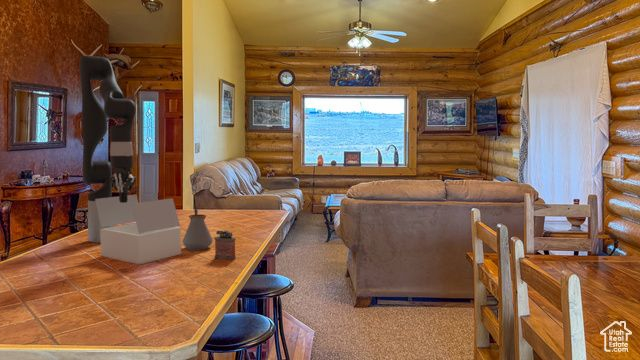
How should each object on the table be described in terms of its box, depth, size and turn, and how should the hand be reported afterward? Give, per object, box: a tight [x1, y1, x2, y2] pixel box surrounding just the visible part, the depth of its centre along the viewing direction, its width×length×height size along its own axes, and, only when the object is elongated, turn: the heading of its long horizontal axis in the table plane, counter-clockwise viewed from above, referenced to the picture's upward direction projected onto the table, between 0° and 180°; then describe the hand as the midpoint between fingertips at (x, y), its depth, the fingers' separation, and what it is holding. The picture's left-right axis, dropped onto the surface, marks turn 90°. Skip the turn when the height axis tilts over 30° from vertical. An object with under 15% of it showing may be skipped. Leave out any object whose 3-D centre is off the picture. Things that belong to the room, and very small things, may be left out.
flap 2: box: [132, 197, 180, 233], centre depth 169 cm, size 10×17×1 cm
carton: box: [100, 222, 182, 265], centre depth 175 cm, size 22×18×10 cm
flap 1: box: [95, 194, 139, 227], centre depth 180 cm, size 10×17×1 cm
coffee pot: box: [182, 204, 214, 251], centre depth 191 cm, size 21×12×15 cm, turn 17°
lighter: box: [214, 230, 237, 260], centre depth 170 cm, size 8×3×10 cm, turn 71°
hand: (123, 202), depth 172 cm, fingers closed
